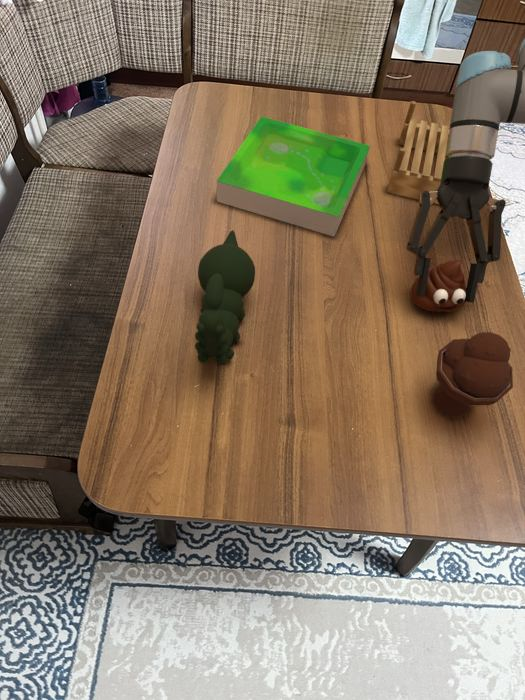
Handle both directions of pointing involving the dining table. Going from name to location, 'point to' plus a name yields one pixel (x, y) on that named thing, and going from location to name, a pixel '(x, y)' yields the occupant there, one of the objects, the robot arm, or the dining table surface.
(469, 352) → the ice cream bowl
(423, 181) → the brown wooden slatted frame
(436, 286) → the poop emoji
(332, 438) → the dining table surface
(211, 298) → the toy figurine
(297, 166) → the green terrain map board
